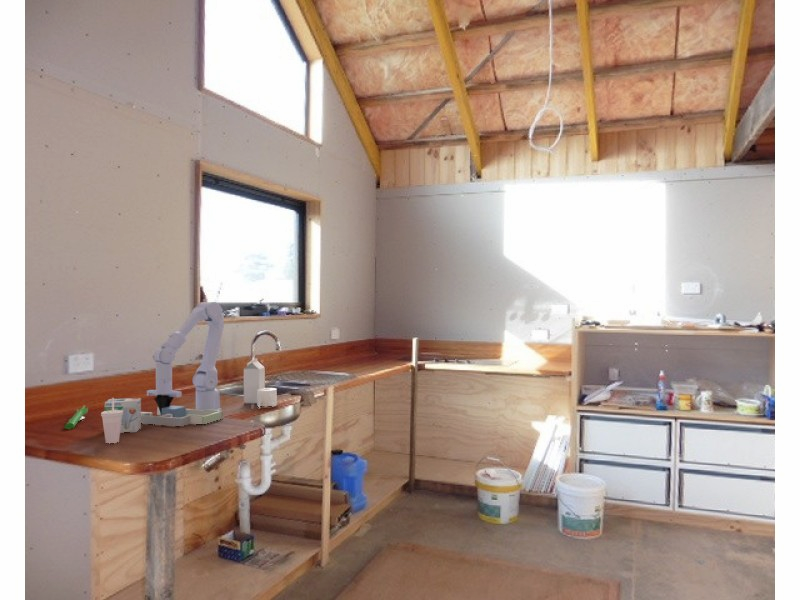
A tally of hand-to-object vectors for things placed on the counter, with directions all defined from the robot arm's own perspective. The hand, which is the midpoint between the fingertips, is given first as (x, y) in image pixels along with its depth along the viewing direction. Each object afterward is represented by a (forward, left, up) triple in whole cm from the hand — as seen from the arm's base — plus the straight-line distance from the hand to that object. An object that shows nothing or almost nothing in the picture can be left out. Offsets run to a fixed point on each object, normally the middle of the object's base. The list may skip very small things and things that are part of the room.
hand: (164, 415), depth 221 cm
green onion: (+13, -28, -2) cm, 31 cm away
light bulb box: (+22, +1, -2) cm, 22 cm away
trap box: (+3, +7, -1) cm, 8 cm away
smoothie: (+36, +10, -1) cm, 37 cm away
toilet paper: (-33, +23, -2) cm, 41 cm away
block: (0, +5, -1) cm, 5 cm away
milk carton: (-40, +14, -1) cm, 43 cm away
